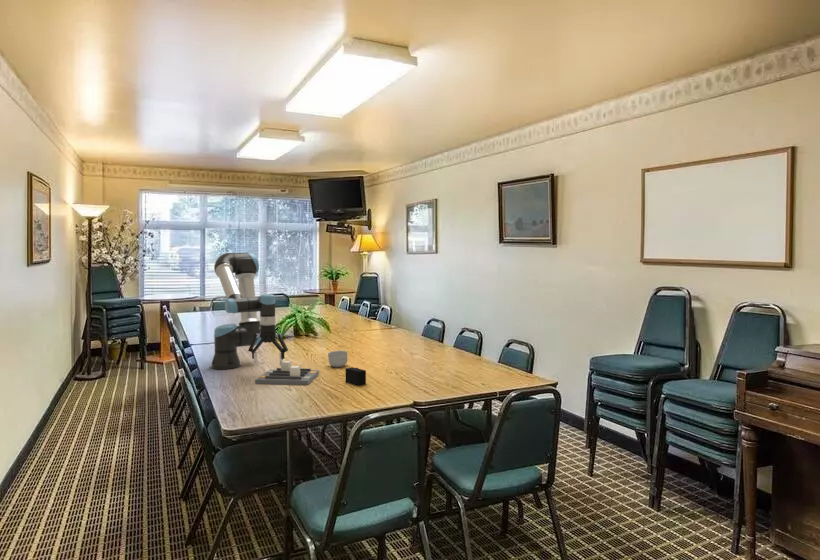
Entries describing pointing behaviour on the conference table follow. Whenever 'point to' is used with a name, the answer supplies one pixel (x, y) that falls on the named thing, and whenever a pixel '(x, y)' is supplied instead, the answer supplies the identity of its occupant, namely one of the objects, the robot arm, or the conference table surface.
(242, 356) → the conference table surface
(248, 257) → the robot arm
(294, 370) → the slider near
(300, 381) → the switch base
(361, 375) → the digital camera
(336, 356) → the teacup
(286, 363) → the slider far
